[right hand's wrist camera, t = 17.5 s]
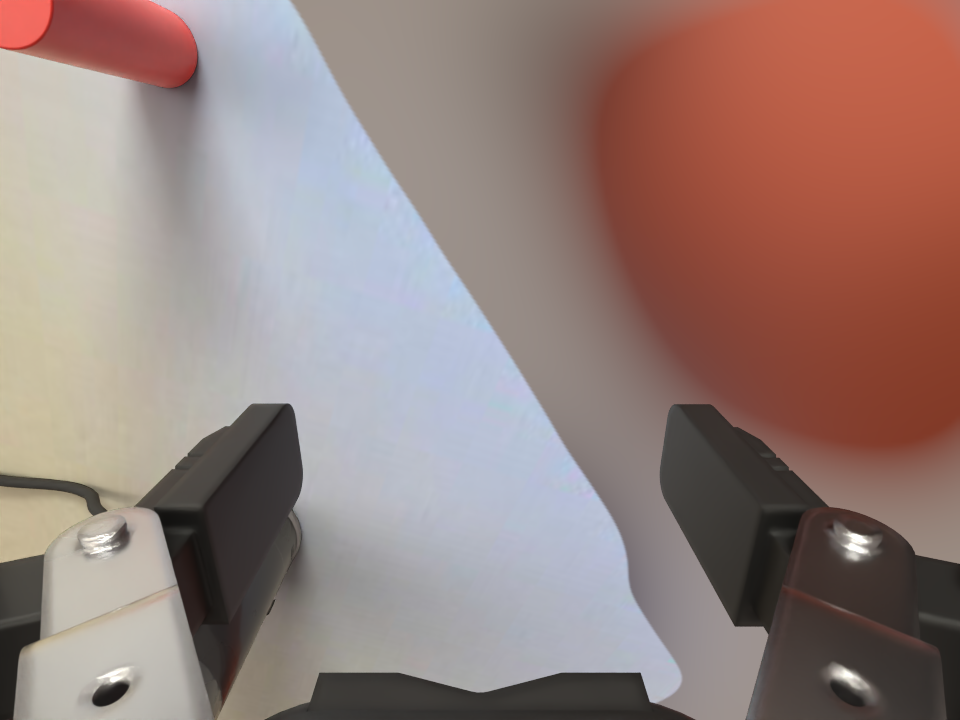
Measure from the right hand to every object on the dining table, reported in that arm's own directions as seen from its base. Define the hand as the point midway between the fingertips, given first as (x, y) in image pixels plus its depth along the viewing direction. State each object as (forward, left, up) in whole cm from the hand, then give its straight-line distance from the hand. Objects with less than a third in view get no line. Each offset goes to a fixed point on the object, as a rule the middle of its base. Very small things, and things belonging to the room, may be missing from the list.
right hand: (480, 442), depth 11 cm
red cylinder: (-23, +1, -26) cm, 34 cm away
